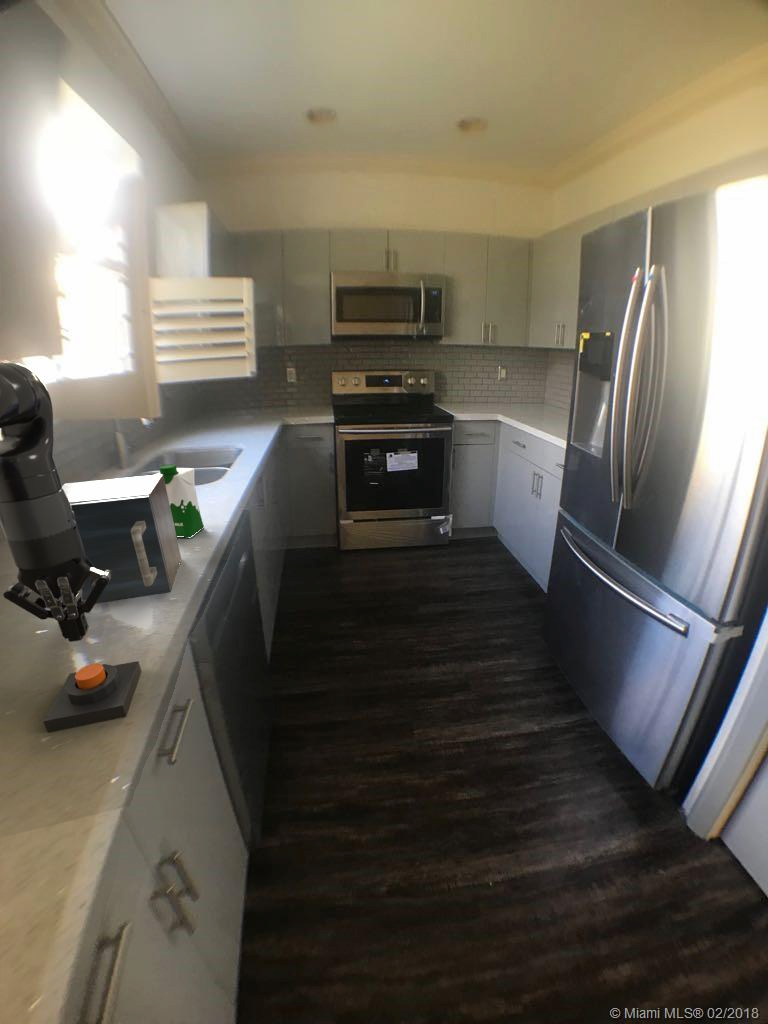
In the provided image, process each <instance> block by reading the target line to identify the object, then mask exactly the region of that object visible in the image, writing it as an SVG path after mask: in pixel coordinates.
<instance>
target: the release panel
mask: <svg viewBox="0 0 768 1024" xmlns="http://www.w3.org/2000/svg"><path fill="white" fill-rule="evenodd" d="M101 665H102V666H103V668H104V671H105V674H106V678H105V680H104V681H103V682H102V683H100V684H99V685H97V686H95V687H92V688H89V689H80V688H79V687H78V685H77V682H76V679H75V675H76V673H77V672H78V671H77V672H71V673H69V674H68V676H67V677H66V679H65V681H64V683H63V685H62V687H61V689H60V690H59V692H58V694H57V696H56V697H55V699H54V701H53V703H52V704H51V707H50V708H49V710H48V712H47V714H46V716H45V718H44V719H43V725H44V728H45V729H46V731H47V733H48V734H50V733H55V732H59V731H64V730H68V729H74V728H78V727H83V726H88V725H92V724H93V725H94V724H98V723H103V722H108V721H112V720H117V719H123V718H126V717H127V716H128V712H129V710H130V707H131V704H132V701H133V698H134V695H135V692H136V689H137V686H138V683H139V680H140V677H141V674H142V668H141V665H140V661H138V660H137V661H132V662H126V663H119V664H115V665H111V664H107V663H103V664H101Z"/></svg>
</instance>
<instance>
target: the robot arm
mask: <svg viewBox="0 0 768 1024" xmlns="http://www.w3.org/2000/svg"><path fill="white" fill-rule="evenodd" d="M53 409H54V408H53V403H52V398H51V396H50V392H49V390H48V388H47V386H46V385H45V383H44V382H43V380H42V379H41V377H40V376H39V375H38V374H37V373H36V372H35V371H33V370H32V369H31V368H30V367H28V366H26V365H23V364H21V363H15V362H0V527H1V529H2V531H3V534H4V537H5V540H6V543H7V545H8V549H9V551H10V553H11V557H12V559H13V562H14V564H15V567H16V568H18V572H17V581H16V582H13V583H12V584H11V585H10V586H9V587H8V588H7V589H6V590H5V591H4V592H3V594H2V596H3V598H4V599H6V600H8V601H9V602H11V603H13V604H14V605H16V606H18V607H20V608H21V609H23V610H24V611H26V612H28V613H30V614H31V615H33V616H34V617H36V618H38V619H39V620H47V619H53V620H55V621H57V623H58V626H59V629H60V632H61V635H62V637H63V638H64V639H65V640H68V642H69V643H72V642H78V641H82V640H83V639H84V637H85V636H86V634H87V632H88V631H89V624H88V620H87V617H86V615H85V614H88V613H91V612H92V609H93V608H94V607H95V605H96V604H97V603H96V602H97V600H98V598H99V597H100V595H101V593H102V592H103V590H104V588H105V587H106V585H107V583H108V582H109V580H110V578H111V577H112V575H113V573H112V571H110V570H105V571H104V572H103V571H101V570H98V569H96V568H93V564H92V562H91V561H90V560H89V559H88V558H87V557H86V555H85V551H84V547H83V544H82V540H81V537H80V534H79V531H78V527H77V524H76V521H75V514H74V512H73V511H72V508H71V505H70V502H69V500H68V498H67V496H66V494H65V491H64V489H63V487H62V486H63V483H62V479H61V477H60V473H59V469H58V467H57V464H56V461H55V458H54V439H55V438H54V410H53ZM88 576H89V577H90V578H91V581H90V584H91V585H92V586H93V587H94V588H93V590H92V591H91V593H90V595H89V596H88V598H87V599H86V600H84V601H83V598H82V587H83V585H84V583H85V582H86V580H87V578H88Z"/></svg>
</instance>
